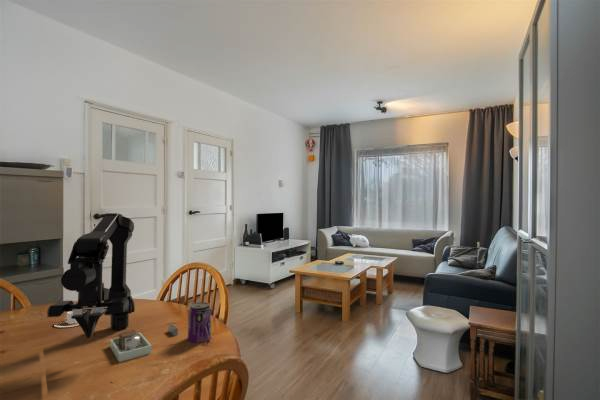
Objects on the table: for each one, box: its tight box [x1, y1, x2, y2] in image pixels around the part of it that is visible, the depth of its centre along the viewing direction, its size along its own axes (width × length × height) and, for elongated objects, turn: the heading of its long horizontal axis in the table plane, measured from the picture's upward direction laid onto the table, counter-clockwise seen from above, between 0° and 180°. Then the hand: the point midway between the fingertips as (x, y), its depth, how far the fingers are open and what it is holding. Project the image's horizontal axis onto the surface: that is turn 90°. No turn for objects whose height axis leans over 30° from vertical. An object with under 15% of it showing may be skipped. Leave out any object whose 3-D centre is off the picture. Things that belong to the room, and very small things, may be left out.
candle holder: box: [54, 311, 80, 328], centre depth 123 cm, size 12×12×4 cm
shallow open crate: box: [109, 332, 153, 363], centre depth 97 cm, size 14×8×3 cm, turn 40°
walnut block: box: [118, 329, 138, 350], centre depth 100 cm, size 4×4×4 cm
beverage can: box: [187, 301, 212, 344], centre depth 106 cm, size 7×7×12 cm
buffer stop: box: [167, 324, 179, 337], centre depth 110 cm, size 5×2×3 cm, turn 40°
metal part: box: [125, 334, 140, 352], centre depth 95 cm, size 4×4×4 cm
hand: (89, 337), depth 90 cm, fingers closed
